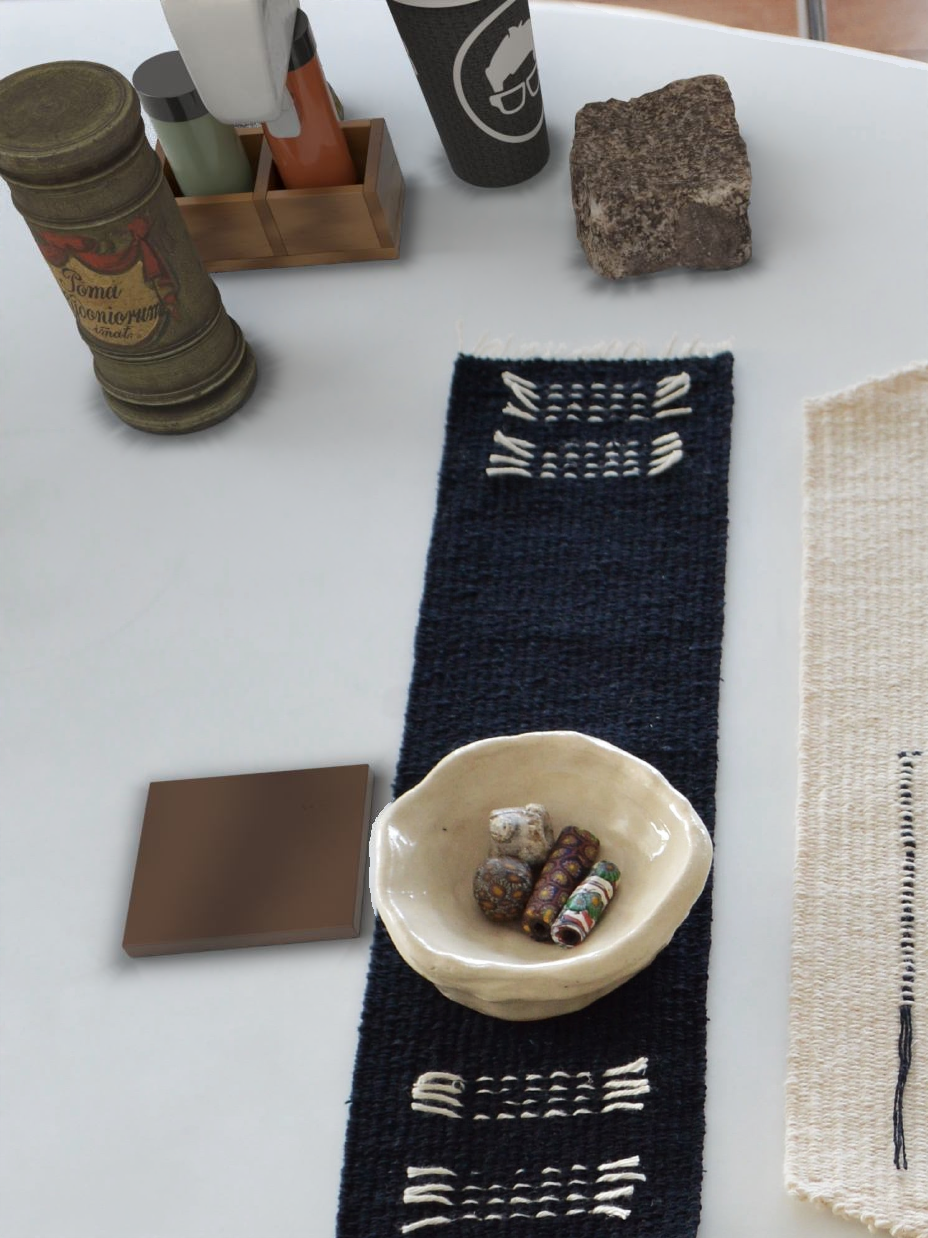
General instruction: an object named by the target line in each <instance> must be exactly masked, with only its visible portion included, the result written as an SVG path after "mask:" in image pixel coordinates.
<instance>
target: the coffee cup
mask: <svg viewBox="0 0 928 1238" xmlns="http://www.w3.org/2000/svg"><path fill="white" fill-rule="evenodd" d="M385 2H386V4H387V7H388V9H389V12H390V15H391V17H392V19H393V22H394V24H395V27H396V30H397V33H398V34H399V37H400V39H401V42H402V45H403V48H404V50H405V52H406V54H407V57H408V60H409V62H410V65H411V69H412V70H413V72H414V75H415V77H416V80H417V82H418V85H419V89H421V93H422V96H423V98H424V101H425V102H426V106H427V108H428V110H429V114H430V116H431V118H432V121H433V124H434V126H435V128H436V131H437V133H438V134H437V135H438V137H439V139H440V141H441V144H442V146H443V149H444V152H445V154H446V157H447V160H448V162H449V164H450V167H451V169H452V171H453V173H454V174H455V175H456V176H457V177H458V179H460V180H462V181H464V182H466V183H468V184H470V185H473V186H477V187H481V188H482V187H483V188H502V187H509V186H513V185H517V184H521V183H523V182H525V181H528V180H530V179H532V177H534V176H536V175H537V174H539V172H541V171H542V170H543V169H544V167H545V166H546V165H547V163H548V161H549V159H550V156H551V155H550V154H551V153H550V152H551V150H550V141H549V135H548V128H547V122H546V114H545V107H544V101H543V100H544V99H543V95H542V88H541V80H540V74H539V68H538V67H539V66H538V60H537V54H536V53H537V52H536V47H535V46H536V45H535V39H534V33H533V26H532V17H531V12H530V5H529V0H385Z"/></svg>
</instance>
